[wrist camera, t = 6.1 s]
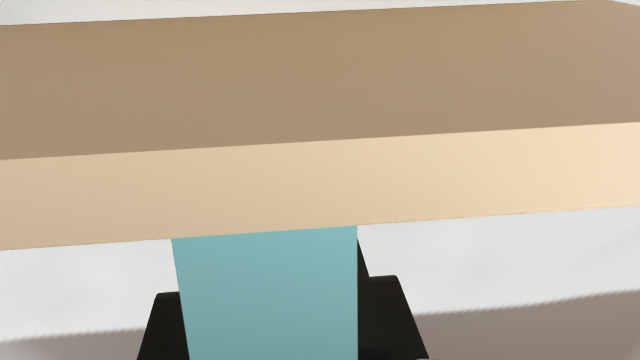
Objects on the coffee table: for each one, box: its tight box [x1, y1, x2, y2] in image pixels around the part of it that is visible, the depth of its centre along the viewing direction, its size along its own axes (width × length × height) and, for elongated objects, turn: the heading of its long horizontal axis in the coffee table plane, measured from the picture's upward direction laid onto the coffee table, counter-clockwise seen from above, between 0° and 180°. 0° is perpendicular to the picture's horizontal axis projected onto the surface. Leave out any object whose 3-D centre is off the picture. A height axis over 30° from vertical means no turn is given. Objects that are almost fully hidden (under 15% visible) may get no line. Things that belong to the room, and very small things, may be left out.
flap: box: [0, 0, 640, 360], centre depth 7 cm, size 11×6×5 cm
